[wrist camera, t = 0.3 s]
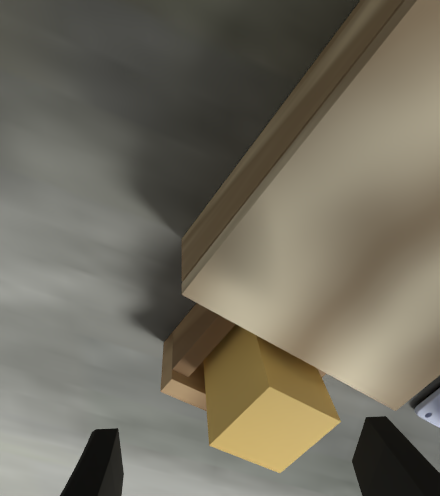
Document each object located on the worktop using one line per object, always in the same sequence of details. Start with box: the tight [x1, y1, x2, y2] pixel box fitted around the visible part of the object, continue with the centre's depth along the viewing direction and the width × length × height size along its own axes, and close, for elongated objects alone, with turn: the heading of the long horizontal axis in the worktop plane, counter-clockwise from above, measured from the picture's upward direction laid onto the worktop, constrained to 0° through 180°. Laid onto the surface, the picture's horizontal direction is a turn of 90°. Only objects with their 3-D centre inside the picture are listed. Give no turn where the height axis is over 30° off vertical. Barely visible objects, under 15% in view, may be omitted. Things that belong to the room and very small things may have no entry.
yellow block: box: [203, 324, 341, 473], centre depth 19 cm, size 4×4×7 cm
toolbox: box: [161, 0, 405, 411], centre depth 17 cm, size 13×22×4 cm, turn 143°
